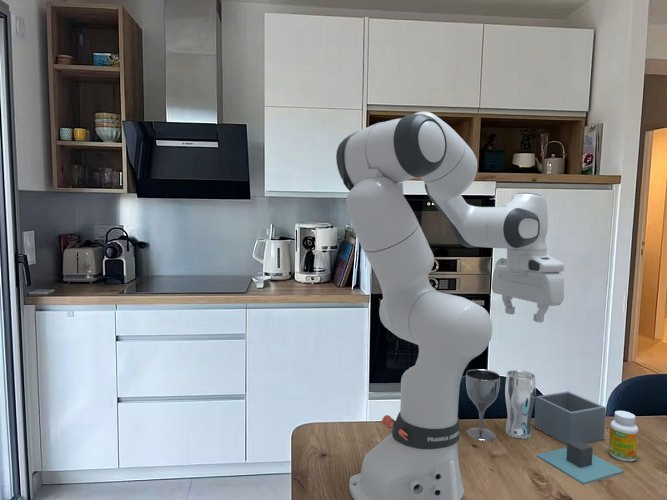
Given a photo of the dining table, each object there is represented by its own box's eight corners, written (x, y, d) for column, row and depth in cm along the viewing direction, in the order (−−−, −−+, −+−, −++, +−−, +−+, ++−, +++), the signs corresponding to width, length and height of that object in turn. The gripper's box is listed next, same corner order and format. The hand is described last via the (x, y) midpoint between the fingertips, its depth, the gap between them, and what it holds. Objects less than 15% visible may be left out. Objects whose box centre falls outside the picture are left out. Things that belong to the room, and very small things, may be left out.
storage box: (569, 446, 110) (571, 413, 110) (534, 427, 121) (535, 396, 120) (603, 439, 114) (605, 407, 114) (566, 420, 125) (568, 391, 124)
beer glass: (536, 441, 113) (539, 380, 112) (505, 438, 114) (508, 377, 113) (530, 428, 120) (533, 370, 119) (501, 426, 121) (503, 368, 120)
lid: (583, 487, 95) (584, 463, 95) (536, 459, 106) (537, 437, 106) (623, 475, 100) (625, 452, 99) (575, 449, 111) (575, 428, 110)
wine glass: (460, 426, 121) (462, 368, 119) (492, 427, 120) (494, 369, 119) (468, 441, 113) (470, 379, 112) (502, 442, 112) (504, 380, 111)
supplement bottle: (609, 458, 105) (612, 416, 105) (607, 448, 110) (610, 407, 109) (638, 464, 103) (640, 421, 102) (634, 453, 108) (637, 412, 107)
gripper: (486, 257, 122) (484, 310, 123) (548, 265, 103) (545, 327, 104) (506, 257, 125) (504, 308, 126) (570, 265, 106) (567, 325, 107)
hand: (523, 317), depth 115 cm, fingers open, 8 cm apart
